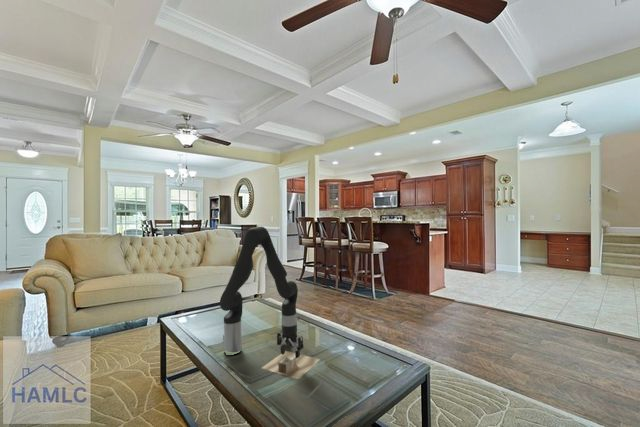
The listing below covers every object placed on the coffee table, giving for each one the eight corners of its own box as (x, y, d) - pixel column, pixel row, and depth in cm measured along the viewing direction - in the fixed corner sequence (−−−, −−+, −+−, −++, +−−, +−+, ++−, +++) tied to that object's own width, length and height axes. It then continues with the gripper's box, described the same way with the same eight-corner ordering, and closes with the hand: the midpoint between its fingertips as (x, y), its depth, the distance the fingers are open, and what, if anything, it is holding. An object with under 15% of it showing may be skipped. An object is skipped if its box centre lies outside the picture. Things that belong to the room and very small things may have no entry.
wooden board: (261, 369, 141) (261, 368, 141) (285, 351, 158) (285, 350, 158) (298, 380, 130) (298, 379, 130) (320, 360, 148) (320, 359, 148)
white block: (289, 362, 145) (278, 371, 138) (289, 354, 145) (278, 362, 138) (296, 364, 143) (285, 373, 136) (296, 356, 143) (284, 364, 136)
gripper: (273, 323, 142) (274, 356, 142) (297, 327, 135) (298, 362, 135) (282, 318, 149) (283, 349, 149) (305, 322, 142) (306, 355, 142)
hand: (290, 355), depth 142 cm, fingers open, 8 cm apart
